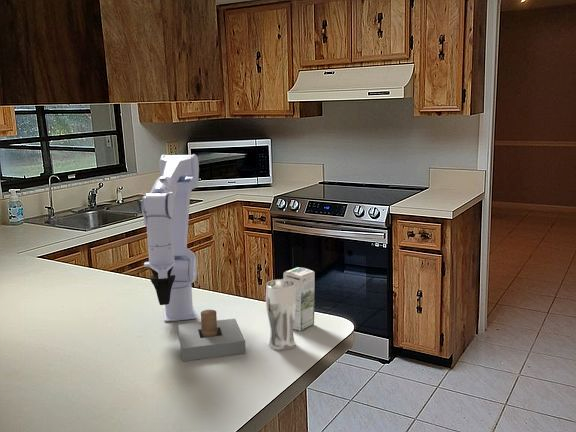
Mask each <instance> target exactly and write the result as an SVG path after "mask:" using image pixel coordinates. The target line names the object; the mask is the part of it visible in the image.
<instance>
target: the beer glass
mask: <svg viewBox="0 0 576 432" xmlns="http://www.w3.org/2000/svg"><path fill="white" fill-rule="evenodd" d="M265 284H266V286H265V287H266V289H265V290H266V291H265V307H266V314H267V317H268V324H269V329H270V330H269V331H270V334H269V335H270V337H269V341H268V342H269V343H268V346H269V347H270V349H273V350H276V351H288V350H291V349H293V348H294V347H295V346H296V341H295V336H294V329H293V324H294V318H295V311H296V291H295V282H293V281H291V280H287V279H283V278H281V279H280V278H279V279H278V278H277V279H272V280H270V281H267V283H265Z"/></svg>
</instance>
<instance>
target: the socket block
mask: <svg viewBox="0 0 576 432" xmlns="http://www.w3.org/2000/svg"><path fill="white" fill-rule="evenodd" d="M177 326H178V327H177V329H178V341H179V345H180V347H179V348H180V352H181V360H182V362H187V361H194V360H203V359H211V358H212V359H213V358H220V357H226V356H236V355H242V354H246V340H245V337H244V335H243V333H242V331H241V328H240V326H239V324H238V322H237V320H236V318H228V319H219V320H218V319H217V336H214V337H206V338H202V329H201V321H200V322H191V323H182V324H177Z"/></svg>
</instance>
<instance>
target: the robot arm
mask: <svg viewBox="0 0 576 432" xmlns="http://www.w3.org/2000/svg"><path fill="white" fill-rule="evenodd" d="M158 165H159V167H158V169H159V173H160V176H159V177H158V178H157V179H155V182H154V184H153V185H152V188H151V190H150V192H148V193H146V195H143V196H142V200H141V214H142V216H143V223H144V226H146V235H147V236H146V237H147V249H148V250H147V251H148V252H147V253H148V254H147V255H148V261H145V262H144V263H143V266H144V268H149V270H150V271H151V273H152V275H150V276H149V279H150V282H151V284H152V285H153V287H154V289H155V292H156V296H157V300H158V304H159V305H160V306H164V307H163V315H164V317H163V319H164V322H165V323H167V322H176V321H177V322H179V321H184V320H194V319H196V318H197V317H196V313H195V309H194V306H193V304H194V303H193V289H192V287H193V286H192V284H193V283H194V282H195V281H197V276H198V266H197V256H196V254H195V252H193V251H192V250H191V249H189V248H188V247H187V246H188V233H189V219H190V217H189V215H190V202H191V201H190V200H191V195H192V190H194V189H197V188H198V183H199V176H200V174H199V173H200V167H199V166H200V164H199V158H198V155H197V154H195V153H193V154H170V155H169V154H161V156H160V159H159V163H158Z"/></svg>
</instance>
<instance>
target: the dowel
mask: <svg viewBox="0 0 576 432" xmlns="http://www.w3.org/2000/svg"><path fill="white" fill-rule="evenodd" d="M217 320H218V319H217V310H214V309H204V310H201V312H200V322H201V329H202V338H206V337H214V336H217Z"/></svg>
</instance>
